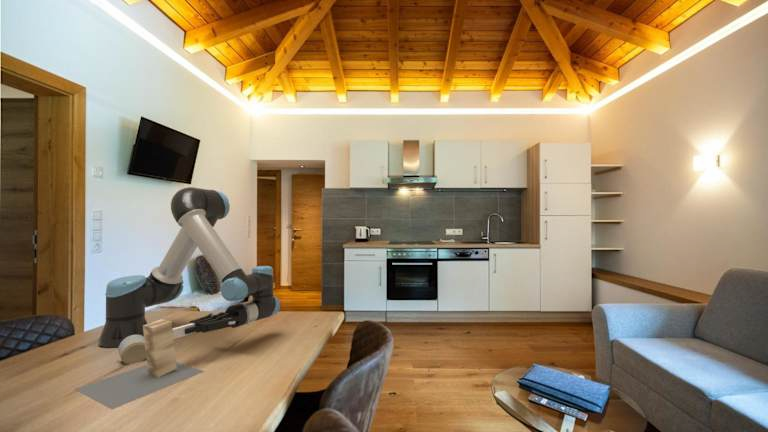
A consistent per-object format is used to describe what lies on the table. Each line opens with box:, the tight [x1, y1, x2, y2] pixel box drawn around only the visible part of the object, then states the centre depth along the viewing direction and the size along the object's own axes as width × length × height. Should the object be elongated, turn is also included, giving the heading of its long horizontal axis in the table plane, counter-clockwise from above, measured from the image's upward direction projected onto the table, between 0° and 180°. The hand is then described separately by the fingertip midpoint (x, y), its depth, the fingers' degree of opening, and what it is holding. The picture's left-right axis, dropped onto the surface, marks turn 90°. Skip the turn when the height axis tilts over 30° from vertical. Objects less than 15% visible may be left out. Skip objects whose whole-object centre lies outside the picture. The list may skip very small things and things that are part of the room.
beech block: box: [143, 318, 177, 378], centre depth 93 cm, size 5×5×14 cm
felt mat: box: [74, 361, 205, 410], centre depth 89 cm, size 20×22×1 cm
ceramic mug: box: [117, 335, 147, 365], centre depth 105 cm, size 11×8×8 cm
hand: (171, 334), depth 95 cm, fingers closed
